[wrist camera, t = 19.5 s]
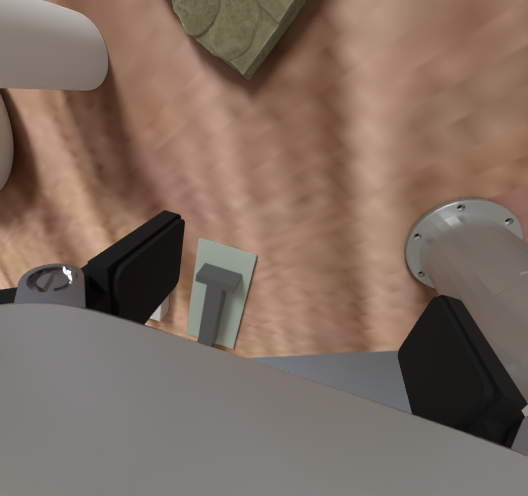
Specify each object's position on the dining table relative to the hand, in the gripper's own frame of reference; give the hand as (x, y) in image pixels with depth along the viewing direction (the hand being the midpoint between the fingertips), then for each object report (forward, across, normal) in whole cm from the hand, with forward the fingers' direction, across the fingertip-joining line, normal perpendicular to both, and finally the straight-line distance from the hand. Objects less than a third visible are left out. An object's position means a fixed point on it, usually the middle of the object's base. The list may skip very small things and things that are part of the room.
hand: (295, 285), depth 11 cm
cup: (+28, +32, -4) cm, 43 cm away
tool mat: (+28, +9, +26) cm, 39 cm away
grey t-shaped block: (+28, +9, +28) cm, 40 cm away
